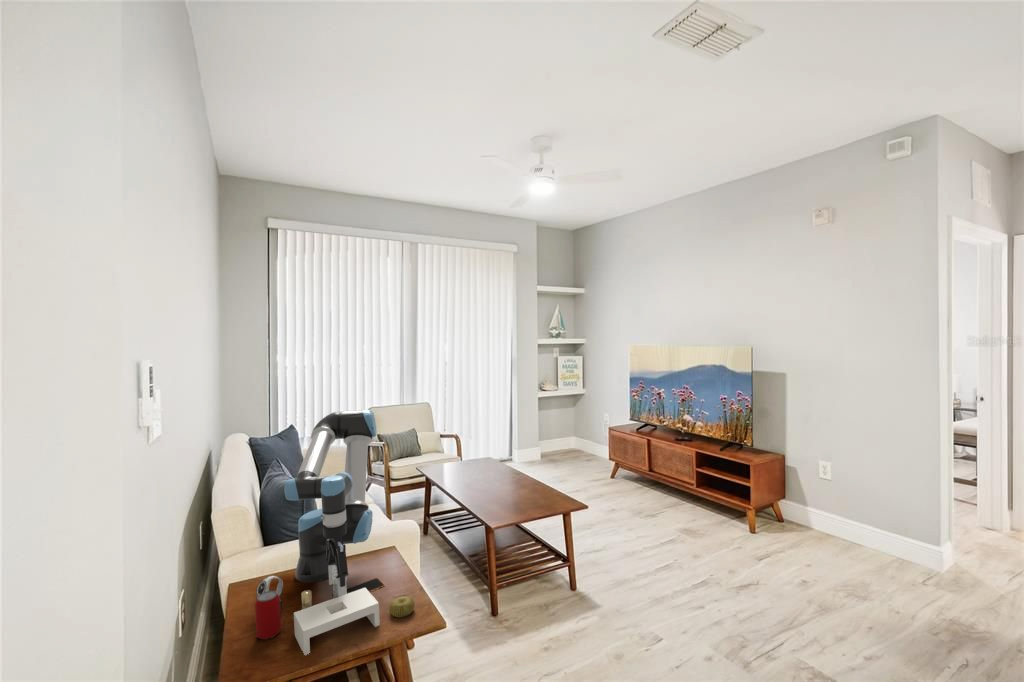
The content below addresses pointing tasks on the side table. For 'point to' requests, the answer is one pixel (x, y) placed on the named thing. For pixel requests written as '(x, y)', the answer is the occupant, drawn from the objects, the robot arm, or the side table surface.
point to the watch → (265, 585)
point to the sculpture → (401, 606)
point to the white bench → (334, 615)
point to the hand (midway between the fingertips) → (337, 589)
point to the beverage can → (268, 615)
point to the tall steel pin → (334, 580)
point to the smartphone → (366, 585)
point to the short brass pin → (306, 599)
